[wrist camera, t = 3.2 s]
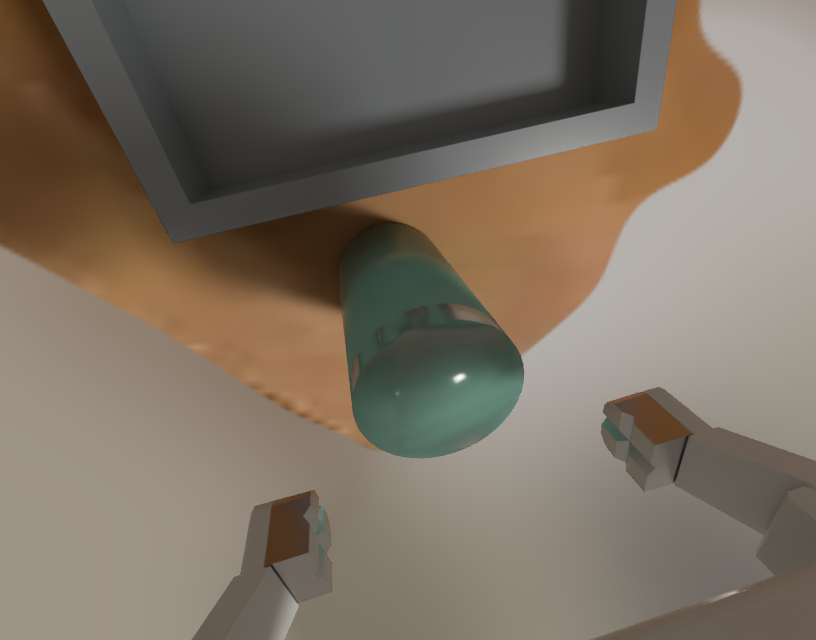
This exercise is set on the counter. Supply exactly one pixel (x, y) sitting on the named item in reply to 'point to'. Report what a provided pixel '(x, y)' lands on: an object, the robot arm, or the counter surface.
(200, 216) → the tray
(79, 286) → the counter surface
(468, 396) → the green rounded cylinder
